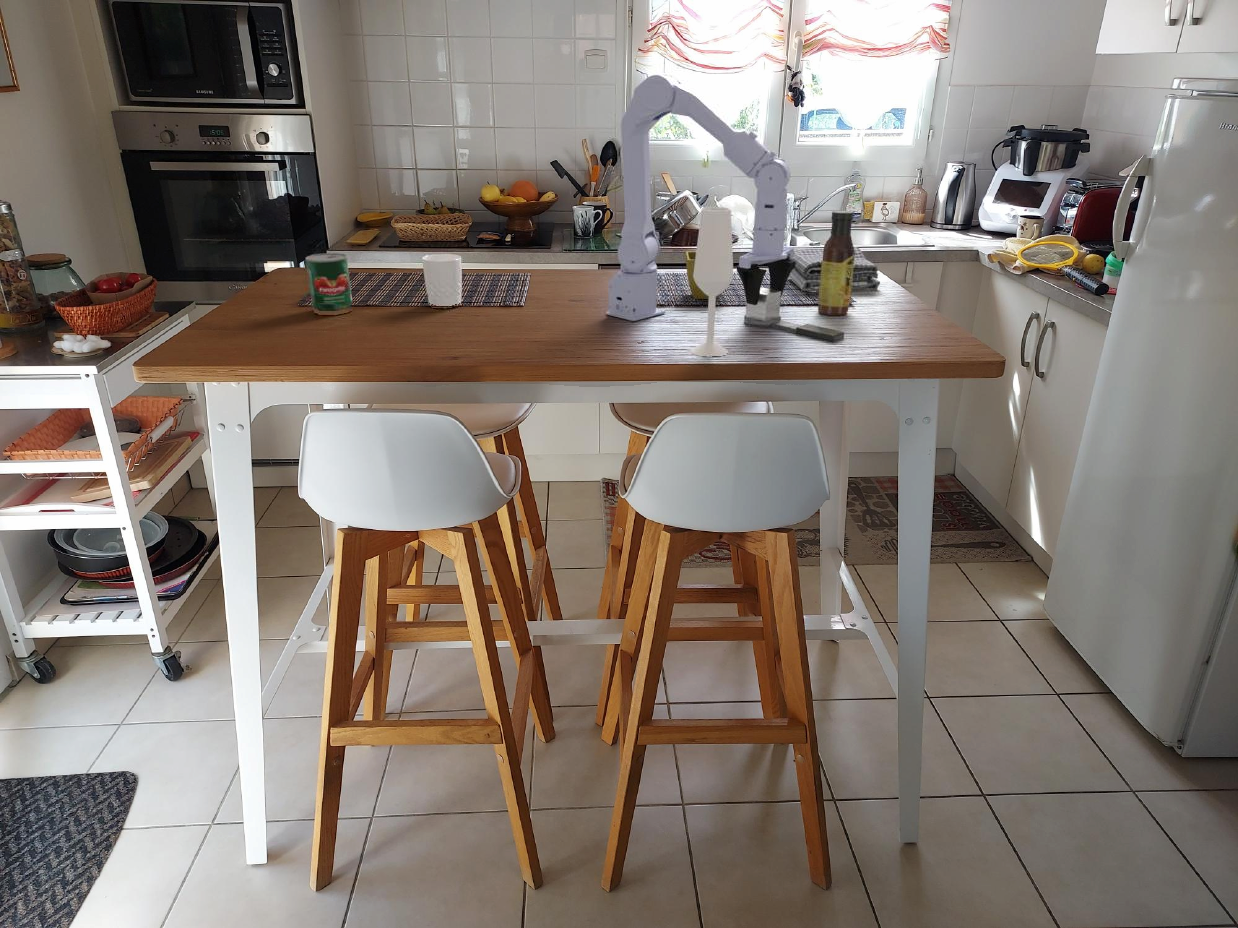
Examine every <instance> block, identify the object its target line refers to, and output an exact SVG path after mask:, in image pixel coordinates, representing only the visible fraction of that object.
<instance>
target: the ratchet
mask: <svg viewBox="0 0 1238 928" xmlns="http://www.w3.org/2000/svg"><path fill="white" fill-rule="evenodd" d="M781 318H782V316H780V315H779V317H777V318H774V319H771V320H767V321H762V320H757V319H753V318H748V317H746V314H745V315H744V319H743V323H744V326H748V327H751V328H757V329H775V330H779V331H782V332H787V333H792V334H795V335H797V336H798V335H799V336H802V337H806V338H811V339H815V340H818V341H819V340H820V341H824V342H826V343H827V342H828V343H832V344H833V343H835V342H839V341H841V340H844V339H845V331H841V330H837V329H832V328H828V327H823V326H819V325H814V324H809V323H805V324H798V323H793V322H789V321H784V320H782V319H781Z"/></svg>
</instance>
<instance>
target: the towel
mask: <svg viewBox="0 0 1238 928" xmlns="http://www.w3.org/2000/svg"><path fill="white" fill-rule="evenodd" d="M853 247H854V251H855V259H854V267H853V277H852V286H851V292H854V291H855V292H860V291H861V292H862V291H864V292H865V291H867V292H868V291H872V292H873V291H877V290H878V288H879V286H880V285H881V281H880V280H878V279H879V274H878V271H879V269H878V268H879V267H878V265H876V264H875V263H873V262H872V261H869V259H867V258H866V257H865V255H864V253H863V251H862V250H861V249H860V247H858V246H853ZM823 250H824V248H802V249H797V250H794V255H793V258H791V259H789V260H794V261H796V265H795V267H794V268H793V270H792V271H791V273H790V275H789V277H788V278H789V279H790V280H791V281H792V282H793V283H794V284H795V285H796V286H797V287H799V289H801V291H803V292H806V291H819V287H820V276H821V266H822V260H823Z"/></svg>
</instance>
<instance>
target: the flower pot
mask: <svg viewBox="0 0 1238 928" xmlns="http://www.w3.org/2000/svg"><path fill="white" fill-rule="evenodd" d="M695 258H696V251H686V252H685V259H686V262H685V263H686V265H685V266H686V277H687V281H688V285H689V290H690V293H691V295H692V297H693V298H694V299H695V300H701V299H702V300H704V299H705V300H709V296H708V295H706V294H705V293H704V292H703V291H702V290H701V289H700V288H699V287H698V286H697V284H696V283H695V281H694V278H693V273H694V265H695ZM720 296H721V294H719V295H717V296H716V298H717V299H718V298H719V297H720Z"/></svg>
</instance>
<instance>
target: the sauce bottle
mask: <svg viewBox="0 0 1238 928" xmlns="http://www.w3.org/2000/svg"><path fill="white" fill-rule="evenodd" d="M853 219H854V212H853V211H851V210H833V211H832V212H831V222H832V223H831V230H830V236H829V238H828V240H826V242H825V244H824V247H823V249H824V250H823V260H822V266H821V276H820V287H819V292H818V300H817V304H818V306H817V311H818V312H819V313H820V314H822V315H828V316H841V315H846V314H848V313H849V307H850V303H851V293H852V291H851V286H852V277H853V267H854V259H855V251H854V247H855V246H854V244H853V240H852V222H853Z"/></svg>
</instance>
